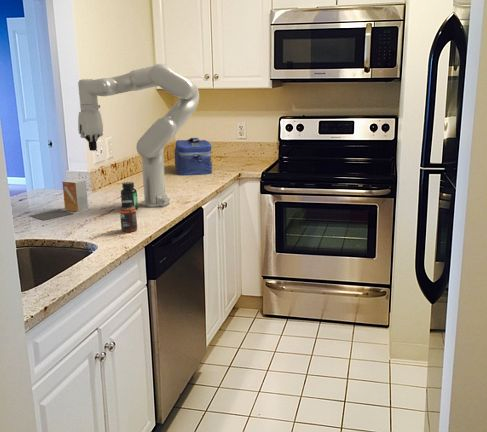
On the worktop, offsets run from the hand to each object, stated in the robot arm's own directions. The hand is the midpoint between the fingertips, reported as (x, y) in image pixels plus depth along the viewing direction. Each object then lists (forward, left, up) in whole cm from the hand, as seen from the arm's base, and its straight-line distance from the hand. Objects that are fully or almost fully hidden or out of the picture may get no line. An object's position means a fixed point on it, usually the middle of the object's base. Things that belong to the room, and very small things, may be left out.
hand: (93, 150), depth 248 cm
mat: (0, +23, -25) cm, 34 cm away
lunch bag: (+31, -87, -25) cm, 96 cm away
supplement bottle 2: (-47, +17, -25) cm, 56 cm away
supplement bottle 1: (-20, -3, -25) cm, 32 cm away
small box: (0, +11, -25) cm, 27 cm away
